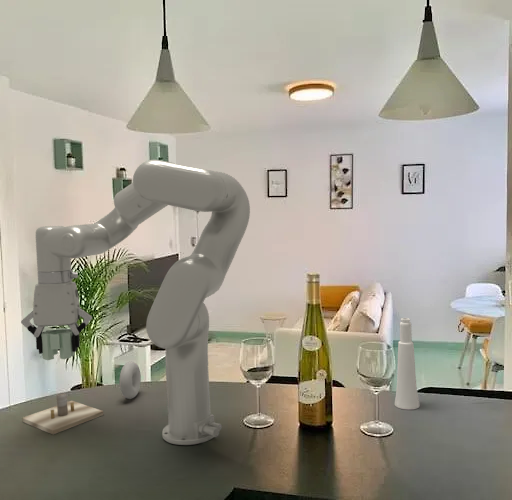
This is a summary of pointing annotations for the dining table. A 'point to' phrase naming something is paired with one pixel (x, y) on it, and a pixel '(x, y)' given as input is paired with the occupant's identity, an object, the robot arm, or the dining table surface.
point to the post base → (62, 415)
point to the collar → (57, 343)
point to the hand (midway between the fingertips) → (58, 350)
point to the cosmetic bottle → (406, 370)
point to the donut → (130, 380)
